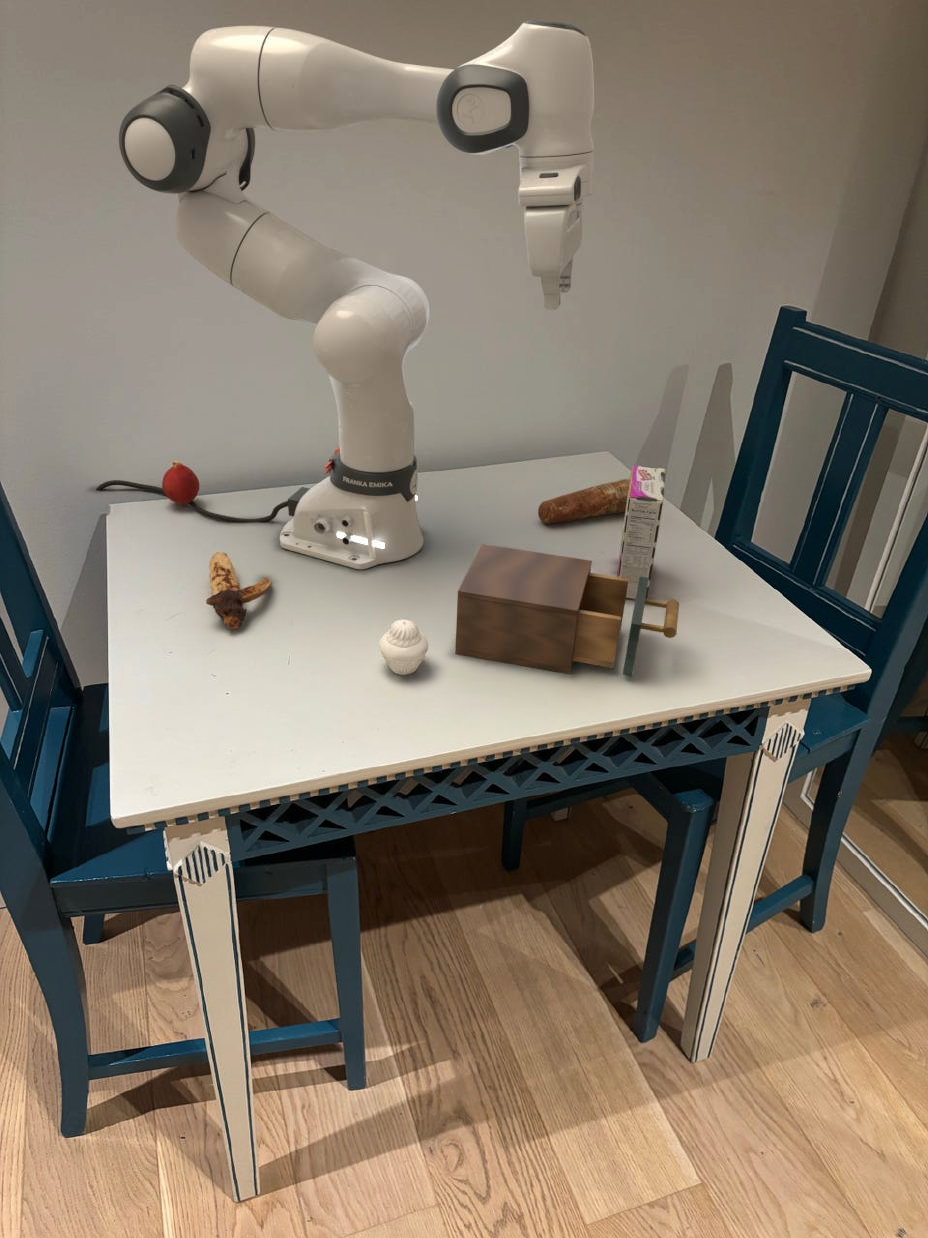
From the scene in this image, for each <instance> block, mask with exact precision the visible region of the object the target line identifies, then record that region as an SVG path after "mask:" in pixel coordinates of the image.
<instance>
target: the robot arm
mask: <svg viewBox="0 0 928 1238" xmlns="http://www.w3.org/2000/svg"><path fill="white" fill-rule="evenodd" d="M594 77H595V76H594V62H593V53H592V47H591V42H590V39H589V37H588V35H587V34H586V32H585V31H584V30H583V29H582V28H581V27H579V26H578V25H576V24H573V23H568V22H560V21H552V20H545V19H537V18H536V19H529V20H525V21H524V22H523V23H522V24H521V25H520V26H519V27H518V28H517V30H516V31H515V32H514V33H513V34H512V35H510V37H509V36H508V38H507V39H506V40H504V41H503V42H501V43H500V44H499V45H497V46H496V47H494V48H493V49H491V50H489V51H487V52H486V53H484V54H482V55H480V56H478V57H476V58H474V59H472V60H470V61H467V62H465V63H463V64H461V65H459V66H458V67H456V68H452V67H451V68H449V67H440V66H433V65H432V66H431V65H425V64H414V63H406V62H397V61H393V60H390V59H389V60H388V59H385V58H382V57H378V56H375V55H372V54H370V53H366V52H365V51H361V50H359V49H356V48H352V47H350V46H347V45H345V44H342V43H339V42H336V41H334V40H332V39H328V38H325V37H322V36H319V35H316V34H312V33H309V32H305V31H300V30H297V29H291V28H286V27H285V28H284V27H277V26H266V25H234V26H224V27H216V28H211V29H208V30H206V31H204V32H202V34H200V35H199V37H198V38H197V39H196V41H195V42H194V44H193V47H192V50H191V53H190V58H189V78H188V81H187V82H186V84H185V85H184V86H183V87H180V86H178V85H176V84H168V85H166V86H165V87H163V88H161V89H160V90H158V91H156V92H155V93H154V94H152V95H150V96H148V97H147V98H145V99H143V100H142V101H140V102H138V103H137V104H136V105H135V106H133V107H132V108H131V109H130V110H129V111H128V112H127V114H126V115H125V116H124V117H123V119H122V121H121V123H120V127H119V130H118V131H119V132H118V146H119V151H120V155H121V159H122V160H123V163H124V165H125V166H126V168H127V170H128V171H129V173H130V174H131V175H132V176H133V177H134V179H135V180H136V181H137V182H139V184H142V185H143V186H144V187H146V188H148V189H150V190H152V191H155V192H158V193H162V194H171V195H176V194H177V197H178V207H177V208H176V212H175V215H174V231H175V236H176V239H177V240H178V242H179V244H180V245H181V246H182V248H184V249H185V251H187V253H189V254H190V255H191V256H192V257H193V258H194V259H196V260H197V262H199V263H200V264H202V266H204V267H205V268H206V269H207V270H208V271H210V272H211V273H213V274H214V275H216V277H218V278H220V279H221V280H222V281H224V282H226V283H227V284H228V285H230V286H231V287H233V288H235V289H236V290H238V291H239V292H241V293H243V294H244V295H246V296H248V297H249V298H250V299H252V300H254V301H255V302H257V303H259V304H260V305H262V306H264V308H265V307H266V308H267V309H268V310H270V311H271V312H274V314H277V315H278V316H280V317H281V318H285V319H288V320H292V321H300V322H304V323H308V324H311V325H314V326H315V329H314V331H313V337H312V346H313V347H312V348H313V352H314V356H315V358H316V360H317V362H318V364H319V366H320V367H321V369H322V370H323V371H324V372H325V373H326V374H327V375H328V377H329V381H330V384H331V387H332V391H333V395H334V399H335V404H336V409H337V420H338V422H337V423H338V440H339V446H338V447H337V448H336V449H335V450H334V451H333V455H332V456H331V457H329V459H328V463H326V465H325V466H324V469H325V471H324V474H325V475H327V474H329V476H327V477H326V478H324V479H322V480H321V481H319V482H318V483H317V484H315V485H314V486H311V488H309V487H304V486H301V487H300V488H298V489H297V491H295V492H294V493H293V494H292V495H290V496H289V497H288V498H287V500H286V501H283V502H280V503H279V504H277V505H276V506H274V508H273V510H272V512H271V513H270V514H269V515H267V516H263V517H258V518H243V517H235V516H229V515H223V514H220V513H216V512H212V511H208V510H206V509H205V508H203V507H201V506H200V505H199V504H198V503H196V502H195V501H194V500H193V501H191V502H190V503H188V504H187V505H188V506H190V507H192V508H193V509H194V510H195V511H197V512H198V513H199V514H201V515H203V516H205V517H207V518H210V519H214V520H218V521H222V522H223V521H224V522H229V523H234V524H235V523H236V524H237V523H238V524H251V523H253V524H254V523H267V522H271V521H272V520H274V519H275V518H276V517H277V515H278V514H279V512H280V511H281V510H282V509H285V508H287V510H288V516H290V517H292V518H291V519H289V520H288V521H287V522H286V524H285V525H284V526H283V528H282V529H281V531H280V534H279V545H280V548H282V549H285V550H288V551H291V552H295V553H299V554H302V555H306V556H310V557H313V558H316V559H319V560H324V561H327V562H330V563H334V564H337V565H341V566H345V567H348V568H351V569H355V570H366V569H369V568H372V567H374V566H377V565H380V564H385V563H386V564H387V563H393V562H398V561H402V560H404V559H408V558H410V557H412V556H413V555H416V554H417V553H418V552H420V550H421V549H422V548H423V546H424V544H425V543H424V541H425V540H424V536H423V533H422V530H421V526H420V521H419V516H418V509H417V501H418V495H417V490H418V479H419V478H418V476H419V474H418V471H419V470H418V460H417V456H416V455H415V407H414V404H413V402H411V400H410V399H409V396H408V391H407V386H406V381H405V376H404V364H405V358H406V355H407V354H408V353H409V352H411V350H413V348H415V347H416V346H417V345H418V344H419V342H420V341H421V340H422V338H423V337H424V334H425V331H426V329H427V326H428V323H429V319H430V304H429V300H428V297H427V295H426V293H425V292H424V290H423V288H422V287H421V286H420V285H419V284H418V283H417V282H416V281H414V280H413V279H411V278H409V277H406V276H403V275H399V274H394V273H390V272H387V271H386V270H383V269H380V268H379V267H376V266H373V265H372V264H369V263H367V262H365V261H362V260H360V259H358V258H355V257H353V256H351V255H347V254H345V253H343V252H340V251H339V250H335V249H333V248H331V247H329V246H327V245H325V244H323V243H322V242H319V241H317V240H316V239H314V238H312V237H311V236H309V235H307V234H306V233H304V232H303V231H301V230H299V229H297V228H296V227H294V226H293V225H292V224H289V223H288V222H286V221H285V220H284V219H281V218H280V217H278V216H277V215H275V214H274V213H272V212H270V211H269V210H267V209H265V208H264V207H262V206H260V205H259V204H258V203H256V202H254V201H253V200H251V199H250V198H249V197H248V196H247V195H245V193H244V192H243V191H245V190H246V189H247V188H248V187H249V185H250V182H251V175H252V173H251V172H252V164H253V161H254V156H255V151H256V134H255V133H256V132H255V129H258V130H259V129H261V130H265V131H273V132H278V133H286V134H319V133H329V132H334V131H338V130H339V131H340V130H342V129H347V128H350V127H354V126H358V125H362V124H366V123H371V122H372V123H373V122H377V121H378V122H379V121H385V120H399V121H400V120H401V121H410V122H419V123H427V124H435V125H438V126H439V129H440V131H441V133H442V135H443V136H444V138H445V140H446V141H447V142H448V143H449V144H450V145H451V146H452V147H453V148H455V149H456V150H459V151H460V152H463V153H466V154H470V155H474V156H475V155H477V156H480V155H488V154H491V153H493V152H497V151H500V150H502V149H510V148H515V147H517V149H518V155H519V156H518V159H519V161H518V162H519V163H518V164H519V186H518V190H517V191H518V192H517V193H518V194H517V196H518V197H517V198H518V206H519V207H520V208H524V211H523V212H524V213H523V223H524V232H525V244H526V254H527V263H528V267H529V271H530V274H531V275H532V277H536V278H540V284H541V287H542V292H543V301H544V302H543V306H544V308H545V309H546V310H547V311H548V310H553V311H554V310H558V309H559V307H560V306H561V293H569V291H570V290H571V288H572V274H573V273H572V272H573V266H574V256H575V255H576V253H577V252H578V251H579V249H580V248H581V247H582V241H583V240H582V239H583V222H582V221H583V220H582V210H583V209H584V198H585V197H589V196H592V195H593V194H594V189H595V188H594V185H595V184H594V182H595V181H594V180H595V177H594V171H595V166H594V165H595V153H594V152H595V151H594V150H595V148H594V147H595V145H594V141H593V139H592V132H591V128H592V127H591V125H592V119H593V114H594V110H595V79H594ZM244 182H245V183H244ZM243 183H244V184H243ZM242 184H243V185H242ZM241 185H242V186H241ZM111 486H122V487H128V488H129V487H130V488H135V489H139V490H145V491H152V492H156V493H160V494H163V495H166V494H165V493H164V492H163V488H162V487H159V486H155V485H150V484H143V483H139V482H138V483H137V482H132V481H128V480H120V479H113V480H106V481H104V482H103V484H102V483H100V484H99V485H98V486H97V487H96V489H95V491H97V492H98V491H99V492H100V491H103V490H105V489H106V488H108V487H111Z"/></svg>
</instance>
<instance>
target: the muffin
mask: <svg viewBox="0 0 928 1238" xmlns="http://www.w3.org/2000/svg"><path fill="white" fill-rule="evenodd" d="M378 647H379V651H380V653H381V655H382V656H381V657H382V658H383V660H384V661H385V662H386V664H387V665H388V667H389V668H390V670H391V671H392V672H393V673H395V674H397V675H402V676H406V675H411V674H413V673H415V672H416V671H417V670H418V668H419V667H420V664H421V663H422V662H423V660H424V659H425V657H426V654H427V652H428V650H429V642H428V639H427V638H426V635H424V633H422V632H421V631H420V630H419V628H418V625H417V624H416V623H415V621H413V620H409V619H404V618H403V619H398V620H395V621H394V622H392V623H391V625H390V626H389V630H388V631H386V632H385V633H384V634H383V635H382V636H381V638H380V640H379V643H378Z"/></svg>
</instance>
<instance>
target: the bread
mask: <svg viewBox="0 0 928 1238" xmlns="http://www.w3.org/2000/svg"><path fill="white" fill-rule="evenodd" d="M630 478H631V477H629V478H621V479H618V480H614V481H609V482H605V483H601V484H598V485H595V486H590V487H587V488H584V489H581V490H577V491H573V492H570V493H565V494H563V495H560V496H556V497H553V498H550V499H547V500H544V501H542V502H541V503H540V504H539V506H538V509H537V514H538V519H539V520H540V522H542V523H543V524H546V525H550V524H557V523H561V522H562V523H563V522H570V521H571V522H572V521H577V520H583V519H587V518H594V517H598V516H604V515H610V514H618V513H625V510H626V503H627V497H628V490H629V484H630Z"/></svg>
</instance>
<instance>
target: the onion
mask: <svg viewBox="0 0 928 1238" xmlns="http://www.w3.org/2000/svg"><path fill="white" fill-rule="evenodd" d="M161 488H163V492H164V493H165V494H164V495H165V496H166V497H167V498H168V499H169V500H170V501H172V502H173V503H176V504H177V505H179V506H181V507H186V506H187V505H189V504H188V503H190V502H191V501H193V502H194V500H195V499H196V498H197V496H198V494H199V491H200V481H199V478H198V476H197V474H196V473H195V472H194V471H193V470H192V469H191V468H189V467H188V466H186V465H185V464H183V463H181V462H180V461H179V460H174V461H173V462H172V466H171V467H170V468H169V469H167V470H166V472H165V473H164V475H163V477H162V483H161Z"/></svg>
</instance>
